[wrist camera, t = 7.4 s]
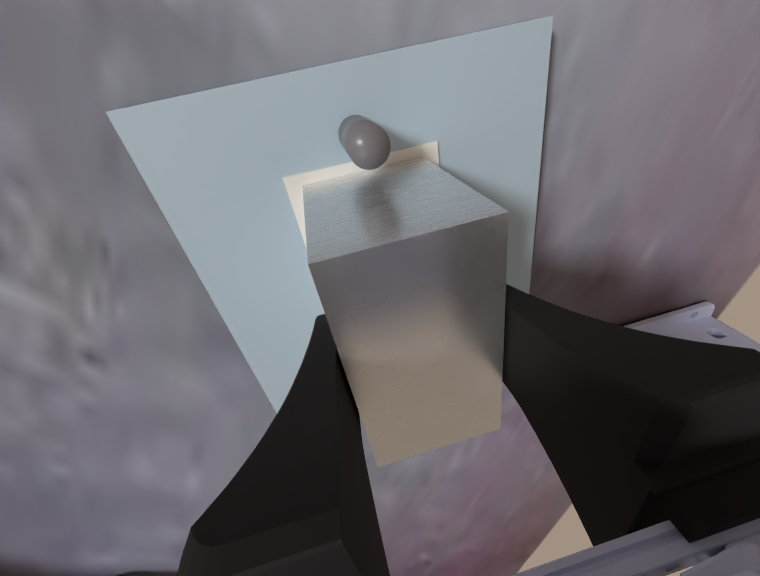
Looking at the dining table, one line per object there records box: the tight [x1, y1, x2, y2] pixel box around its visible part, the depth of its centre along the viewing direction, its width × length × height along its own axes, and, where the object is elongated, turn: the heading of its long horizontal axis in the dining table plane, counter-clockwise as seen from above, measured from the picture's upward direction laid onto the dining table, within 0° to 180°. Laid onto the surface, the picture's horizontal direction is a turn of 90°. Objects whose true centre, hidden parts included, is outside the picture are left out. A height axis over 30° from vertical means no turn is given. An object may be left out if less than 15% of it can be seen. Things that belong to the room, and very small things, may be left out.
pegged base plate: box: [106, 16, 553, 413], centre depth 14 cm, size 14×15×4 cm
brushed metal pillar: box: [302, 156, 509, 467], centre depth 12 cm, size 4×8×6 cm, turn 10°
